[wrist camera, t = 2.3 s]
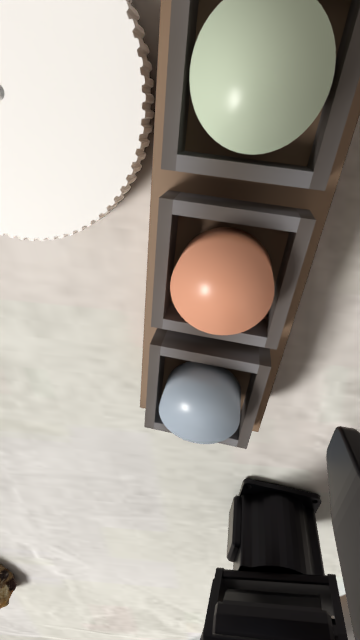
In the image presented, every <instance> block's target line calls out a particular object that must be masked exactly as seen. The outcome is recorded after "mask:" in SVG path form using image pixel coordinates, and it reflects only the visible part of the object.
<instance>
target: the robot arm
mask: <svg viewBox="0 0 360 640" xmlns="http://www.w3.org/2000/svg"><path fill="white" fill-rule="evenodd" d="M327 470H328V482H329V494H330V506H331V516H332V524H333V530H334V536H335V541H336V546H337V551H338V556H339V561H340V566H341V571H342V577H343V582H344V587H345V592H346V597H347V601H348V607H349V612H350V617H351V622H352V627H353V632H354V637H355V640H360V433H359V432H358V431H357V430H356V429H353V428H347V427H341V426H340V427H337V428H336V429H335V431H334V434H333V436H332V439H331V441H330V444H329V446H328V449H327ZM320 504H321V499H320V496H319V495H318V494H315V493H310V492H306V491H301V490H297V489H292V488H288V487H284V486H279V485H275V484H270V483H266V482H261V481H257V480H252V479H245V480H244V481H243V483H242V486H241V489H240V492H239V496H237V495H236V496H235V497H234V499H233V502H232V505H231V509H230V512H229V528H228V545H227V558H228V560H229V561H231V562H234V565H233V570H225V569H224V568H216V573H215V578H214V579H213V582H212V588H211V593H210V598H209V604H208V609H207V614H206V619H205V625H204V629H203V632H202V635H201V638H200V640H348V638H347V633H346V628H345V622H344V617H343V612H342V607H341V602H340V596H339V591H338V586H337V581H336V575H335V574H327V575H328V576H327V575H325V574H324V568H323V561H322V555H321V549H320V543H319V536H318V530H317V524H316V518H315V513H316V511H317V509H318V507H319V505H320ZM332 615H333V616H334V617H335V619H332V618H331V616H332Z"/></svg>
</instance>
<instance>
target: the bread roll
mask: <svg viewBox="0 0 360 640" xmlns="http://www.w3.org/2000/svg"><path fill="white" fill-rule="evenodd" d="M15 588H16V582H15V580H14V576H13V574H12V572H10V571H9V570H8V569H7V568H5V567H4V566H3V565H1V564H0V609H1V608H2V607H5V606H7V605H8V604H9V598H10V596H11V594H12V592H13V591H14V590H15Z"/></svg>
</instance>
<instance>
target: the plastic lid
mask: <svg viewBox="0 0 360 640" xmlns="http://www.w3.org/2000/svg"><path fill="white" fill-rule="evenodd" d="M132 1H133V0H0V235H5V234H8V236H9V237H10V238H15V237H19V239H20V240H25V239H26V238H29V240H30V241H34V240H36V239H39V240H40V241H44V240H46V239H48V238H49V240H54V239H56V238H57V237H59V238H64V237H65V236H67V235H69V236H71V235H73V234H75V233H76V232H80V231H82V230H84V229H85V228H87V227H89V226H90V225H92V224H94V223H95V222H97V221H98V220H100V219H101V218H102V217H104V216H105V215H107V214H108V213H109V212H110V210H112V209H113V208H115V207H116V206H117V203H118V202H119V201H121V200H122V199H123V198H124V195H123V194H125V193H126V192H128V191H129V190H130V188H131V187H130V184H131V183H133V182H134V181H135V180H136V178H137V177H136V175H135V173H136V172H138V171H140V170H141V167H142V165H141V164H140V162H141V160H143V159H145V157H146V153H145V152H144V149H145V147H147V146H149V142H150V141H149V140H148V139H147V137H148V133H151V132H152V126H151V125H150V119H152V118H153V115H154V112H153V111H152V110H151V104H152V103H154V96H153V95H151V88H152V87H154V82H153V79H150V75H149V72H150V71H151V70H152V65H151V63H150V62H149V61H147V54H149V48H148V46H147V45H146V44H145V43H144V42H143V37H144V36H145V33H144V29H143V28H142V27H141V26H140V25H139V24H138V22H137V21H138V19H139V18H140V17H139V14H138V12H137V10H136V9H135V8H134V7H133V6H131V3H132Z"/></svg>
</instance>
